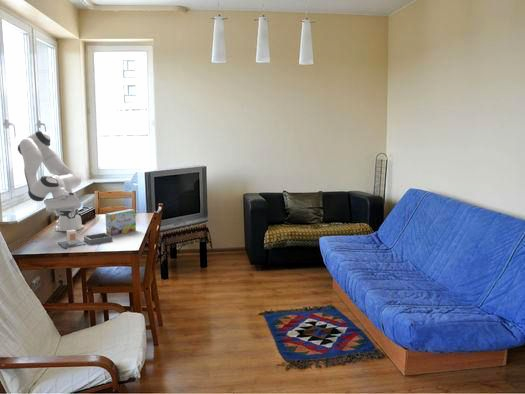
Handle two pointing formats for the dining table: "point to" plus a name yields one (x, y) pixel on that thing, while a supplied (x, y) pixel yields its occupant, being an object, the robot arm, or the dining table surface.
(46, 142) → the robot arm
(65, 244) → the blue-grey board
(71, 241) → the cream carton
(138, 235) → the dining table surface
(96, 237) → the parts bin
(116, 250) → the dining table surface
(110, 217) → the snack box
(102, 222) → the dining table surface
